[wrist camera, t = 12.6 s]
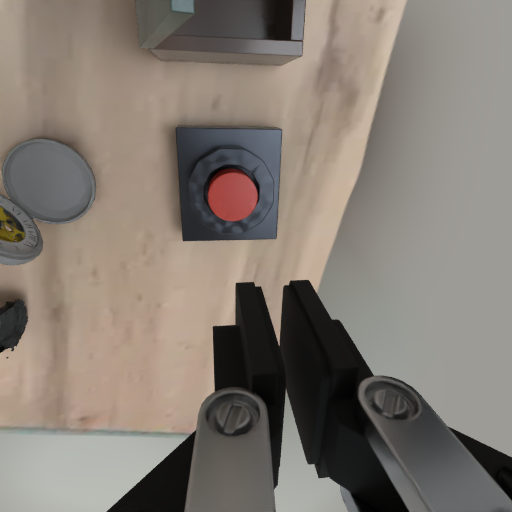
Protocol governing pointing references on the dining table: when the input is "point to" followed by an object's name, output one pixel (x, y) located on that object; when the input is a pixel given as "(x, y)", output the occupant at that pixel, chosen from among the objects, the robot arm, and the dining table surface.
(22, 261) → the pocket watch
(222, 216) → the alarm button
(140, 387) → the dining table surface
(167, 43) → the open brown box case
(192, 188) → the base
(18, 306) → the artificial flower
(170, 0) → the green panel
